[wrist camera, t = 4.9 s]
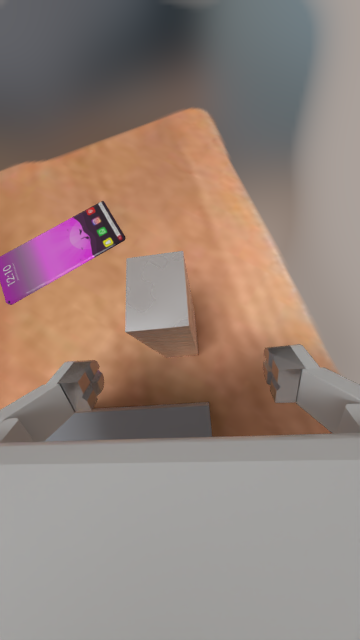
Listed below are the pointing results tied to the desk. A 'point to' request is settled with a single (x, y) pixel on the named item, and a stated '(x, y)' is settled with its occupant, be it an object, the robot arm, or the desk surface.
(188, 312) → the grey square post
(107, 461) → the robot arm
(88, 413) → the block
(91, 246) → the smartphone
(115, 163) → the desk surface
